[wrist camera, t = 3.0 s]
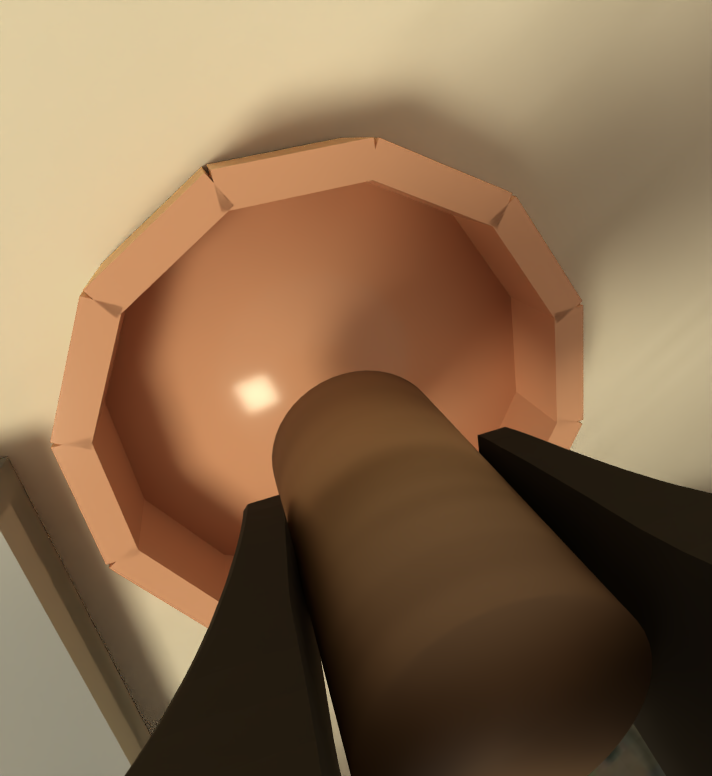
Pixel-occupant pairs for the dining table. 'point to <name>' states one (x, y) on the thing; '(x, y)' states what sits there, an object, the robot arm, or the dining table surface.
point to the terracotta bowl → (296, 339)
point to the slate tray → (54, 661)
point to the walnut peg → (446, 597)
